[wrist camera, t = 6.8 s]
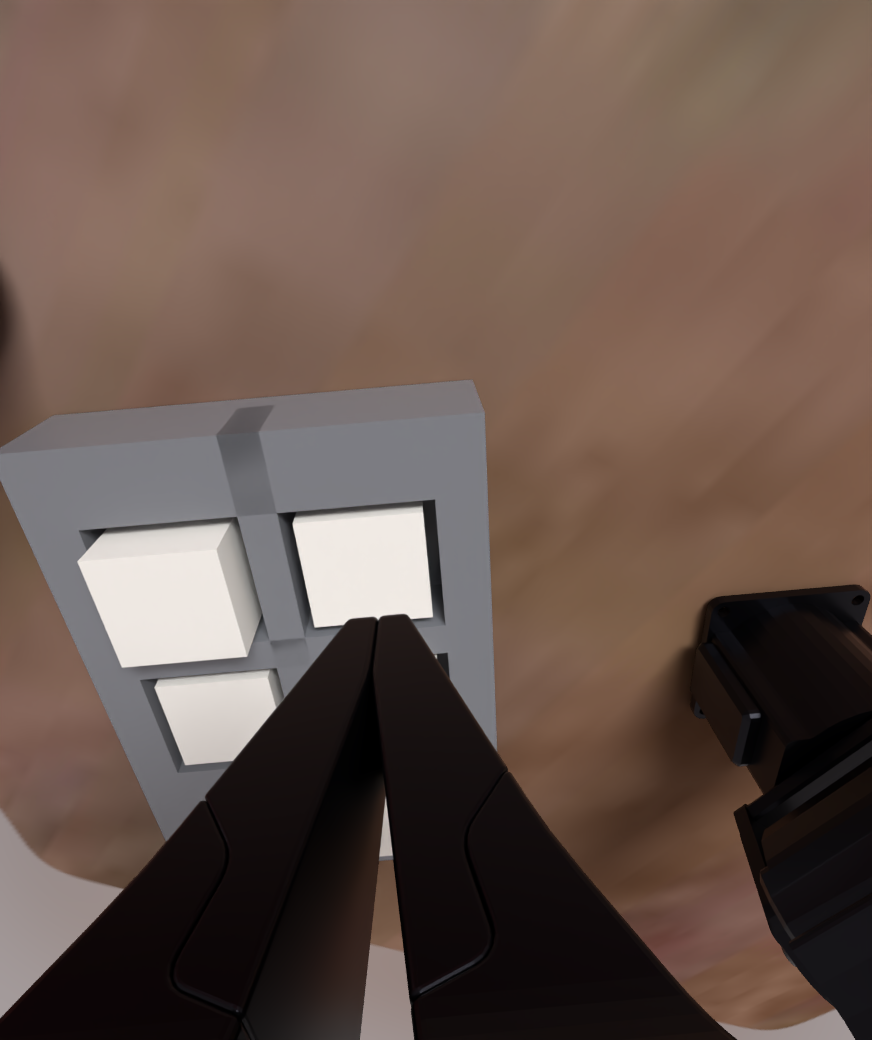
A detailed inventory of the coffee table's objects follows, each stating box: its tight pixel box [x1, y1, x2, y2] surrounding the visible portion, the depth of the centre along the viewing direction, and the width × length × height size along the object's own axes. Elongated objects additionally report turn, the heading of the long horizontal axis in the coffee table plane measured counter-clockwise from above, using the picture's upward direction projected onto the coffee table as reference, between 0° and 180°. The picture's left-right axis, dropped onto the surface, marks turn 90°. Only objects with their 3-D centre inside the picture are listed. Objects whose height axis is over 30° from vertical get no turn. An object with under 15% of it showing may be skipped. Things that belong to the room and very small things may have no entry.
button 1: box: [77, 517, 262, 668], centre depth 19 cm, size 4×4×2 cm
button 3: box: [293, 501, 433, 627], centre depth 20 cm, size 4×4×2 cm
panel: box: [0, 380, 497, 861], centre depth 23 cm, size 14×20×4 cm
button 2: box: [154, 668, 285, 765], centre depth 23 cm, size 4×4×2 cm
